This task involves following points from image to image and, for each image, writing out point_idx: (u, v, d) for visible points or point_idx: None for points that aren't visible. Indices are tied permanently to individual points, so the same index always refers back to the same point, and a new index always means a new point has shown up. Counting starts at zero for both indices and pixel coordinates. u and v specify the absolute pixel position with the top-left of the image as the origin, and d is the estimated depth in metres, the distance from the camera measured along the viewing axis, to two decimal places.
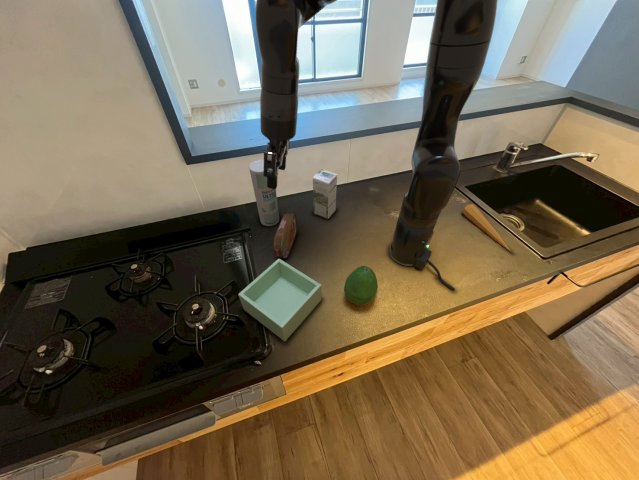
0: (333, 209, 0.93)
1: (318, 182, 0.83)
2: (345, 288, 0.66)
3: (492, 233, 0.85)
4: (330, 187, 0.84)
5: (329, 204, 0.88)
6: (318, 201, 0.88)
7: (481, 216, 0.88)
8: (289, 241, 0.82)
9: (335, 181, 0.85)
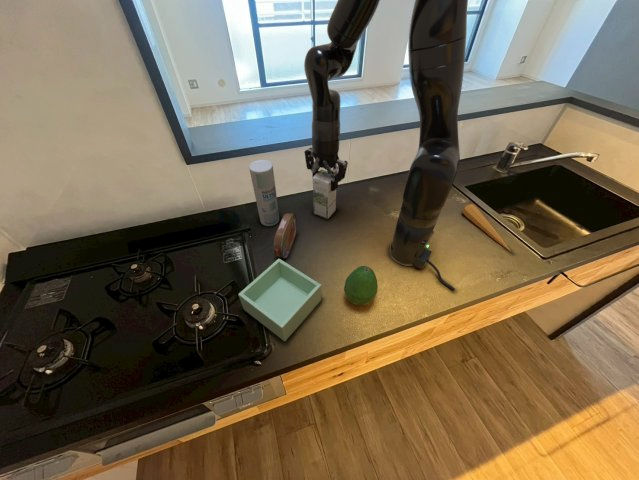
0: (333, 209, 0.93)
1: (317, 182, 0.84)
2: (345, 288, 0.66)
3: (492, 233, 0.85)
4: (330, 187, 0.84)
5: (329, 204, 0.88)
6: (318, 201, 0.88)
7: (481, 216, 0.88)
8: (289, 241, 0.82)
9: None
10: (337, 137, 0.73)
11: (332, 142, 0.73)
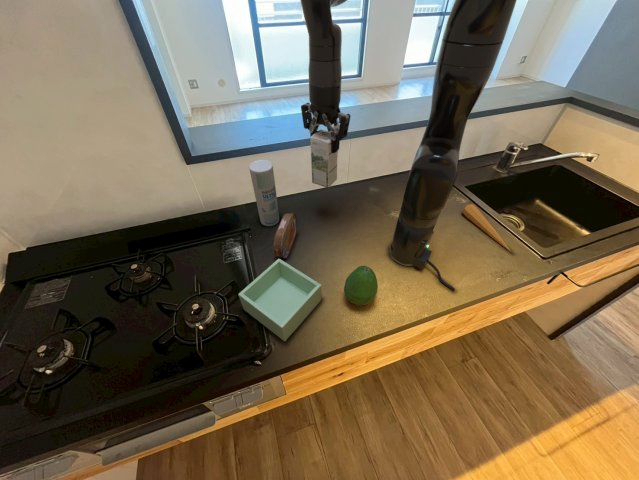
0: (334, 177, 0.82)
1: (316, 143, 0.73)
2: (345, 288, 0.66)
3: (492, 233, 0.85)
4: None
5: (329, 169, 0.77)
6: (317, 166, 0.78)
7: (481, 216, 0.88)
8: (289, 241, 0.82)
9: None
10: (338, 83, 0.63)
11: (332, 88, 0.63)
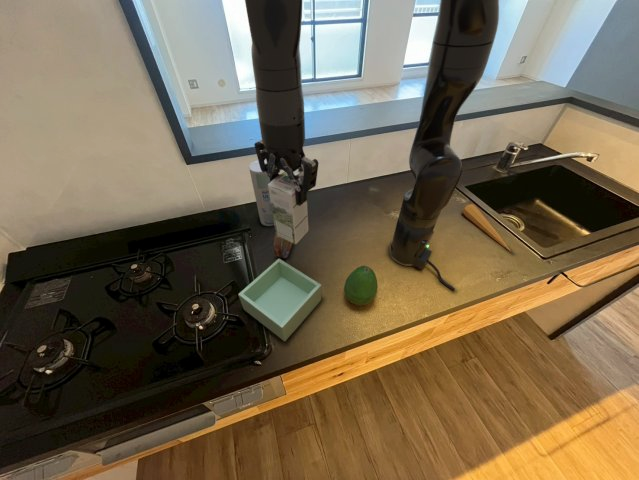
0: (304, 230, 0.64)
1: (275, 192, 0.54)
2: (345, 288, 0.66)
3: (492, 233, 0.85)
4: (295, 200, 0.55)
5: (295, 224, 0.59)
6: (280, 219, 0.59)
7: (481, 216, 0.88)
8: None
9: None
10: (299, 120, 0.44)
11: (290, 127, 0.44)
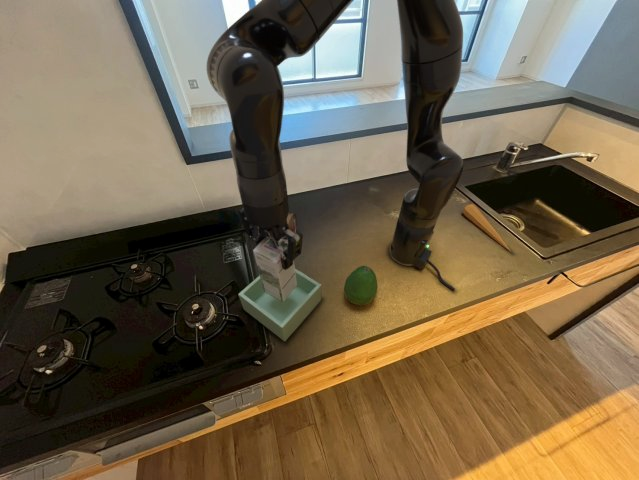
0: (292, 286, 0.63)
1: (261, 258, 0.54)
2: (345, 288, 0.66)
3: (492, 233, 0.85)
4: (281, 265, 0.54)
5: (282, 285, 0.58)
6: (267, 280, 0.59)
7: (481, 216, 0.88)
8: None
9: None
10: (281, 199, 0.44)
11: (272, 208, 0.43)
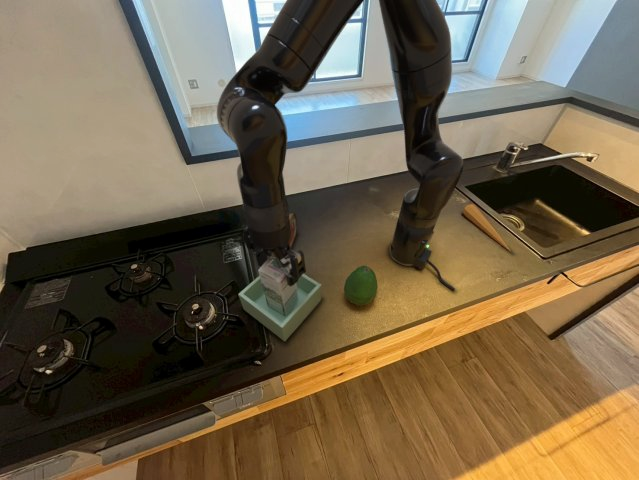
0: (294, 301, 0.67)
1: (265, 277, 0.58)
2: (345, 288, 0.66)
3: (492, 233, 0.85)
4: (284, 283, 0.59)
5: (285, 301, 0.62)
6: (270, 296, 0.63)
7: (481, 216, 0.88)
8: (289, 241, 0.82)
9: None
10: (283, 224, 0.47)
11: (275, 232, 0.47)
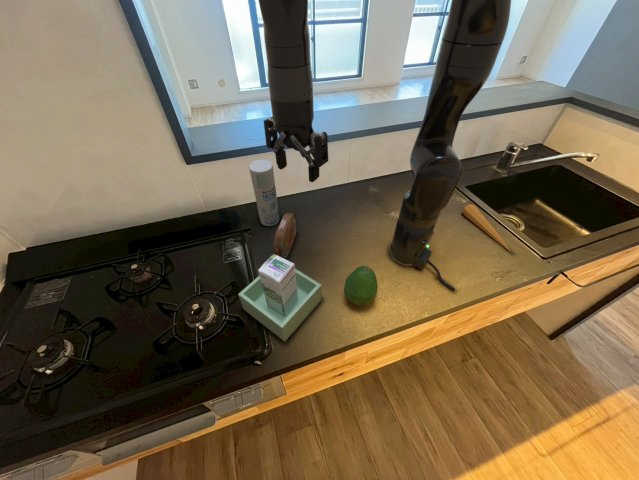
0: (294, 301, 0.67)
1: (265, 277, 0.58)
2: (345, 288, 0.66)
3: (492, 233, 0.85)
4: (284, 283, 0.59)
5: (285, 301, 0.62)
6: (270, 296, 0.63)
7: (481, 216, 0.88)
8: (289, 241, 0.82)
9: (292, 272, 0.60)
10: (308, 96, 0.47)
11: (301, 104, 0.47)
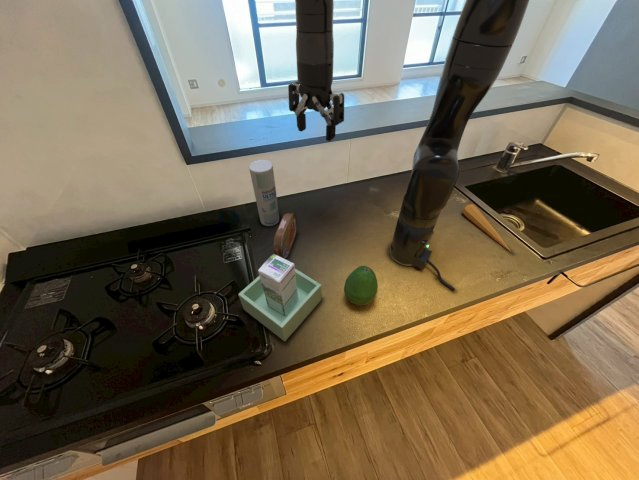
0: (294, 301, 0.67)
1: (265, 277, 0.58)
2: (345, 288, 0.66)
3: (492, 233, 0.85)
4: (284, 283, 0.59)
5: (285, 301, 0.62)
6: (270, 296, 0.63)
7: (481, 216, 0.88)
8: (289, 241, 0.82)
9: (292, 272, 0.60)
10: (330, 60, 0.55)
11: (323, 66, 0.55)
